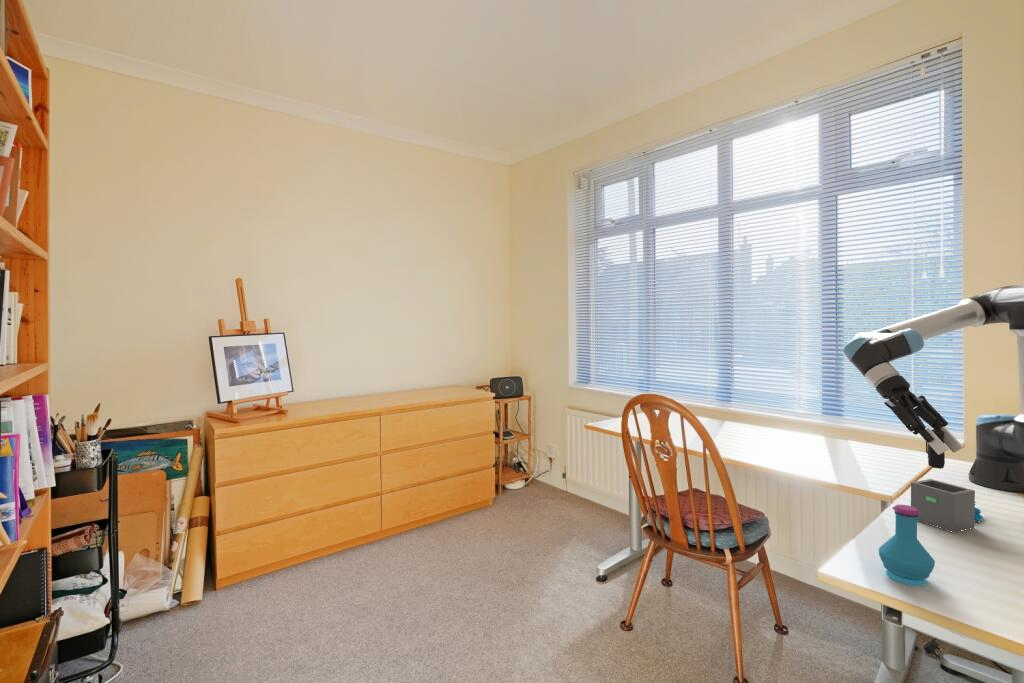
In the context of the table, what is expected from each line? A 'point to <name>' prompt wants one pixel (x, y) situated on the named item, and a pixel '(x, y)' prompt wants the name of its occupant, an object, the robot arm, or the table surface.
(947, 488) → the charging dock
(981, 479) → the robot arm
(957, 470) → the table surface
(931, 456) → the two-way radio
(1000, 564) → the table surface
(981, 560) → the table surface
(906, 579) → the perfume bottle
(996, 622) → the table surface
